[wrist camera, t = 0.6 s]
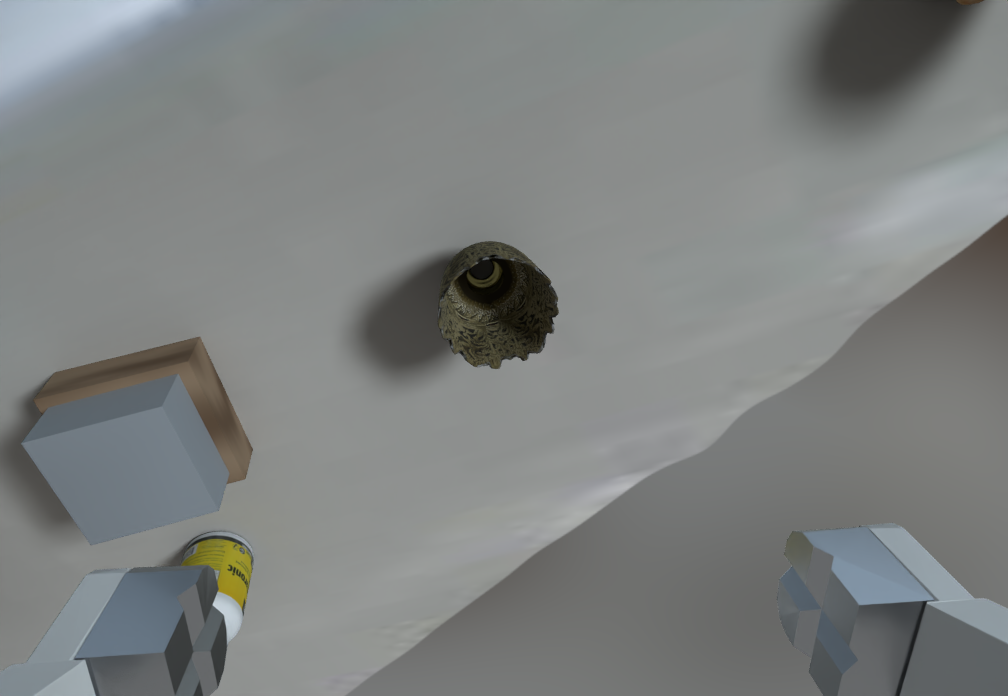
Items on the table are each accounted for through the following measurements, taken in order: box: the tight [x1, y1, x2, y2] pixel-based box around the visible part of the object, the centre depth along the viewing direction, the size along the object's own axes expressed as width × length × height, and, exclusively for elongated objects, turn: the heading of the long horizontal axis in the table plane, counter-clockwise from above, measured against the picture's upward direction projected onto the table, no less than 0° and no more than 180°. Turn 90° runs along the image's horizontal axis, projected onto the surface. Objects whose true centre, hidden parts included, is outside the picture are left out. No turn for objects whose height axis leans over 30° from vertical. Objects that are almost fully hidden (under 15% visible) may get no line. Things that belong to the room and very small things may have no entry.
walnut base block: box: [33, 337, 253, 484], centre depth 49 cm, size 10×10×4 cm
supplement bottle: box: [180, 532, 254, 646], centre depth 53 cm, size 5×5×10 cm
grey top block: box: [21, 374, 230, 545], centre depth 46 cm, size 8×8×4 cm
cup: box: [438, 241, 559, 369], centre depth 46 cm, size 8×7×8 cm
